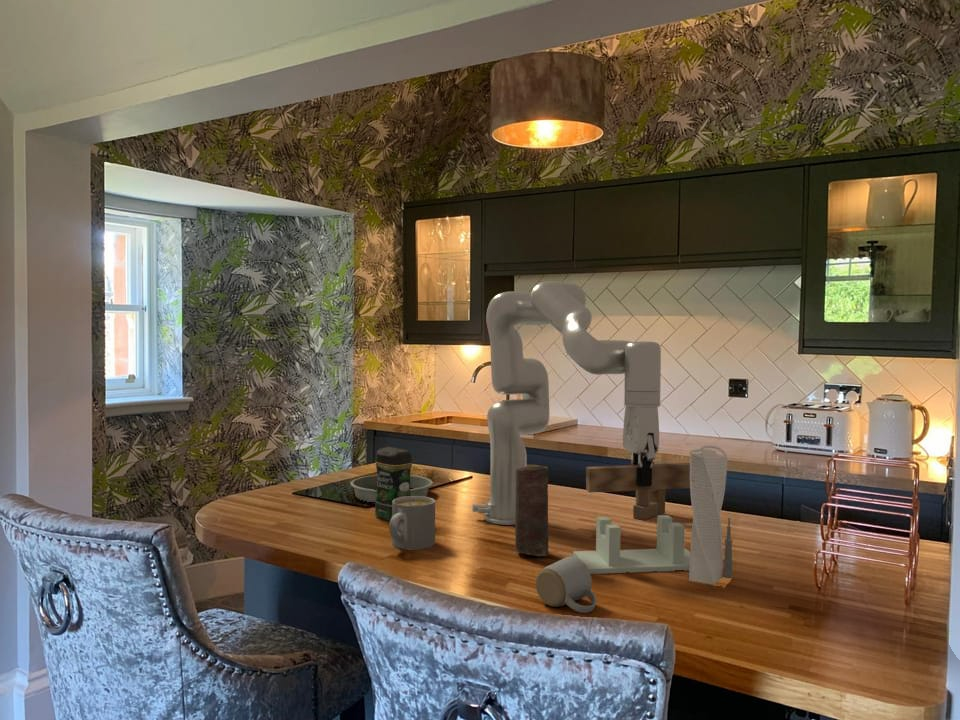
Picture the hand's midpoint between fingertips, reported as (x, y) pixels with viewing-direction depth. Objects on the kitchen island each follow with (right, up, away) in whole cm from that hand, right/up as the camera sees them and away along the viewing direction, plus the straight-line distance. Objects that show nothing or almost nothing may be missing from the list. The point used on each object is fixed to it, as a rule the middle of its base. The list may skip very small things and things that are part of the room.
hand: (641, 483), depth 154 cm
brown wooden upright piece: (+11, -16, +41) cm, 45 cm away
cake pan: (-61, -15, +62) cm, 88 cm away
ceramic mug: (-18, -18, -23) cm, 35 cm away
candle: (-23, -17, +6) cm, 29 cm away
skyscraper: (+11, -18, -10) cm, 23 cm away
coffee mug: (-51, -16, +12) cm, 55 cm away
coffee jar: (-58, -15, +36) cm, 70 cm away
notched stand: (0, -17, +1) cm, 17 cm away
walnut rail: (0, -1, 0) cm, 1 cm away
